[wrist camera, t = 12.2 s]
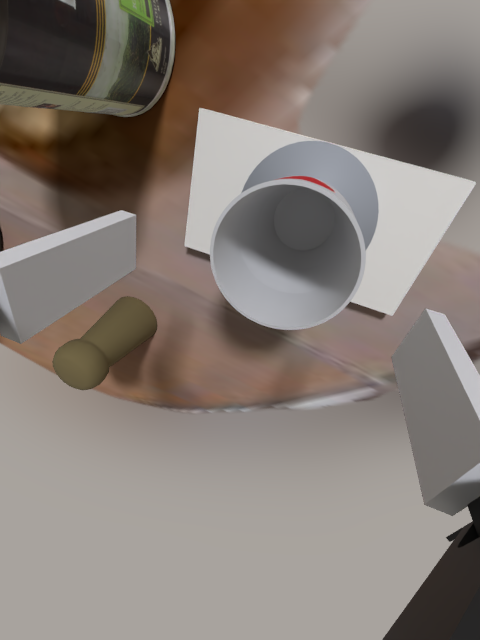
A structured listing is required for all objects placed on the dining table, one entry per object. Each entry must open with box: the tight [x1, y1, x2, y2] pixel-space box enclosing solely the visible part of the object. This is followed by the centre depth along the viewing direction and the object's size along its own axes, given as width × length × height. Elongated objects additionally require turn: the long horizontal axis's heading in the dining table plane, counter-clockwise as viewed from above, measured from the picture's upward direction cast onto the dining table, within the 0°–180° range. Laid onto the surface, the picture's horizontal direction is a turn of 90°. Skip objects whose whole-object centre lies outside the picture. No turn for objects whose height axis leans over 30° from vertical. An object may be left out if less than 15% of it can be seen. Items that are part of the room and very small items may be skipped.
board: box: [185, 108, 476, 316], centre depth 24 cm, size 20×11×2 cm, turn 77°
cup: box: [210, 176, 366, 330], centre depth 19 cm, size 8×8×10 cm
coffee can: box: [0, 0, 175, 117], centre depth 16 cm, size 10×10×14 cm
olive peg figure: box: [52, 296, 157, 390], centre depth 32 cm, size 6×6×11 cm
